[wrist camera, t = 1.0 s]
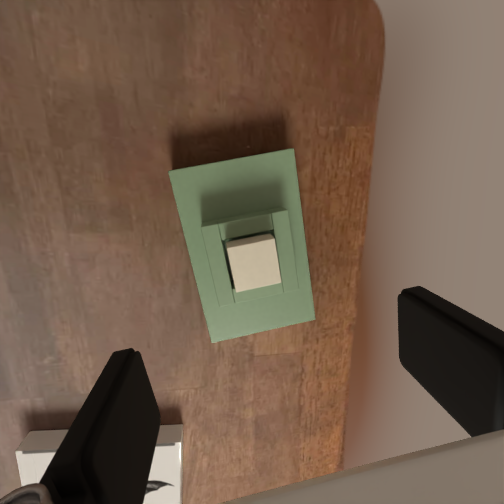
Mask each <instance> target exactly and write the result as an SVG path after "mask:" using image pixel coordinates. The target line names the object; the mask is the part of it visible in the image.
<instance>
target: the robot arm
mask: <svg viewBox="0 0 504 504" xmlns="http://www.w3.org/2000/svg"><path fill="white" fill-rule="evenodd" d="M398 331H399V358H400V362H401V364H402V365H403V367H404V368H405V369H406V370H407V371H408V372H409V373H410V374H411V375H412V376H413V377H414V378H415V379H416V380H417V381H418V382H419V383H420V384H421V385H422V386H423V387H424V388H425V389H426V390H427V392H428V393H430V395H432V397H434V399H435V400H436V401H437V402H438V403H439V404H440V405H441V406H442V407H443V408H444V409H445V410H446V411H447V412H448V413H449V414H450V415H451V416H452V417H453V418H454V419H455V420H456V421H457V422H458V423H459V424H460V425H461V426H462V427H463V428H464V429H465V430H466V431H467V433H468V434H470V436H471V438H467V439H463V440H460V441H456V442H452V443H448V444H444V445H440V446H436V447H432V448H428V449H425V450H420V451H416V452H412V453H409V454H404V455H401V456H397V457H393V458H389V459H385V460H382V461H378V462H374V463H370V464H366V465H362V466H358V467H355V468H351V469H347V470H343V471H339V472H335V473H332V474H328V475H324V476H320V477H316V478H313V479H309V480H305V481H301V482H297V483H293V484H290V485H286V486H282V487H278V488H275V489H271V490H267V491H264V492H260V493H256V494H252V495H249V496H245V497H241V498H237V499H234V500H230V501H226V502H223V503H219V504H504V332H503V331H502V330H500V329H498V328H496V327H494V326H493V325H491V324H489V323H487V322H485V321H484V320H482V319H480V318H478V317H476V316H474V315H472V314H471V313H469V312H467V311H465V310H463V309H462V308H460V307H458V306H456V305H454V304H452V303H451V302H449V301H447V300H445V299H443V298H441V297H440V296H438V295H436V294H434V293H432V292H430V291H429V290H427V289H425V288H423V287H421V286H416V287H412V288H407V289H403V290H402V292H401V294H399V295H398ZM160 424H161V417H160V412H159V409H158V406H157V403H156V399H155V396H154V393H153V390H152V387H151V384H150V381H149V378H148V375H147V372H146V369H145V366H144V363H143V360H142V357H141V354H140V352H139V351H136V352H135V351H134V349H132V348H129V349H125V350H120V351H116V352H114V353H113V354H112V355H111V357H110V359H109V361H108V362H107V364H106V366H105V368H104V369H103V371H102V373H101V375H100V376H99V378H98V380H97V382H96V383H95V385H94V387H93V388H92V390H91V392H90V394H89V395H88V397H87V399H86V401H85V402H84V404H83V406H82V408H81V409H80V411H79V413H78V415H77V416H76V418H75V420H74V422H73V423H72V425H71V427H70V429H69V430H68V432H67V434H66V436H65V437H64V439H63V441H62V443H61V444H60V446H59V448H58V450H57V451H56V453H55V455H54V457H53V458H52V460H51V462H50V464H49V465H48V467H47V469H46V471H45V473H44V475H43V476H42V478H41V480H40V482H39V483H33V484H27V485H25V486H22V487H20V488H18V489H15V490H14V491H12V492H11V493H9V494H7V495H6V496H4V497H3V498H1V499H0V504H143V502H144V497H145V493H146V488H147V483H148V479H149V474H150V470H151V465H152V461H153V456H154V452H155V447H156V442H157V438H158V433H159V429H160Z"/></svg>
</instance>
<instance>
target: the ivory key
mask: <svg viewBox="0 0 504 504" xmlns="http://www.w3.org/2000/svg"><path fill="white" fill-rule="evenodd" d="M226 247H227V252H228V257H229V262H230V266H231V271H232V276H233V281H234V285H235V290H236V292H240V291H245V290H249V289H254V288H259V287H263V286H268V285H273V284H277V283H281V275H280V269H279V263H278V256H277V250H276V244H275V239H274V237H273V236H272V235H271V234H270V233H267V234H262V235H257V236H252V237H248V238H243V239H238V240H233V241H228V242H226Z"/></svg>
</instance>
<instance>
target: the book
mask: <svg viewBox="0 0 504 504" xmlns="http://www.w3.org/2000/svg"><path fill="white" fill-rule="evenodd" d="M68 430H69V429H67V430H46V431H30V432H29V433H28V434H27V436H26V437H25V439H24V440H23V441H22V443H21V444H20V446H19V447H18V448H17V450H16V457H17V462H18V468H19V473H20V478H21V484H22V486H25V485H27V484H33V483H39V482H40V480H41V478H42V476H43V475H44V473H45V471H46V469H47V467H48V465H49V464H50V462H51V460H52V458H53V457H54V455H55V453H56V451H57V450H58V448H59V446H60V444H61V443H62V441H63V439H64V437H65V436H66V434H67V432H68ZM182 476H183V424H176V425H160V429H159V433H158V438H157V442H156V447H155V452H154V456H153V461H152V465H151V470H150V474H149V479H148V483H147V488H146V493H145V497H144V502H143V504H182Z"/></svg>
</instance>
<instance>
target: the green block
mask: <svg viewBox="0 0 504 504" xmlns="http://www.w3.org/2000/svg"><path fill="white" fill-rule="evenodd" d="M168 173H169V177H170V181H171V185H172V189H173V193H174V197H175V201H176V205H177V208H178V212H179V216H180V220H181V224H182V228H183V232H184V236H185V240H186V244H187V248H188V252H189V256H190V260H191V264H192V268H193V272H194V276H195V279H196V283H197V287H198V291H199V295H200V299H201V303H202V307H203V311H204V315H205V319H206V323H207V327H208V331H209V335H210V339H211V342H212V343H214V342H218V341H223V340H227V339H232V338H236V337H240V336H245V335H249V334H253V333H258V332H262V331H267V330H271V329H275V328H280V327H284V326H289V325H293V324H297V323H302V322H306V321H311V320H315V312H314V304H313V296H312V288H311V280H310V272H309V265H308V257H307V249H306V241H305V233H304V225H303V217H302V209H301V201H300V193H299V185H298V178H297V170H296V162H295V154H294V148H290V149H285V150H279V151H274V152H268V153H263V154H257V155H252V156H246V157H241V158H236V159H230V160H225V161H219V162H214V163H208V164H203V165H197V166H192V167H186V168H181V169H175V170H170V171H168ZM267 233H270V234H271V235H272V236H273V237H274V239H275V244H276V250H277V256H278V263H279V269H280V275H281V283H277V284H273V285H268V286H263V287H259V288H254V289H249V290H245V291H240V292H236V290H235V285H234V281H233V276H232V271H231V266H230V262H229V257H228V252H227V247H226V242H228V241H233V240H238V239H243V238H248V237H252V236H257V235H262V234H267Z"/></svg>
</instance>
